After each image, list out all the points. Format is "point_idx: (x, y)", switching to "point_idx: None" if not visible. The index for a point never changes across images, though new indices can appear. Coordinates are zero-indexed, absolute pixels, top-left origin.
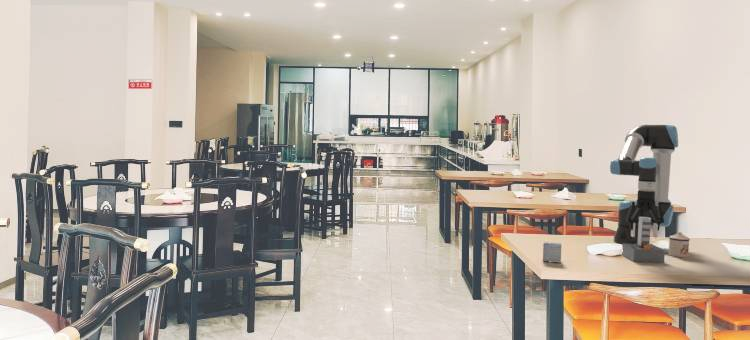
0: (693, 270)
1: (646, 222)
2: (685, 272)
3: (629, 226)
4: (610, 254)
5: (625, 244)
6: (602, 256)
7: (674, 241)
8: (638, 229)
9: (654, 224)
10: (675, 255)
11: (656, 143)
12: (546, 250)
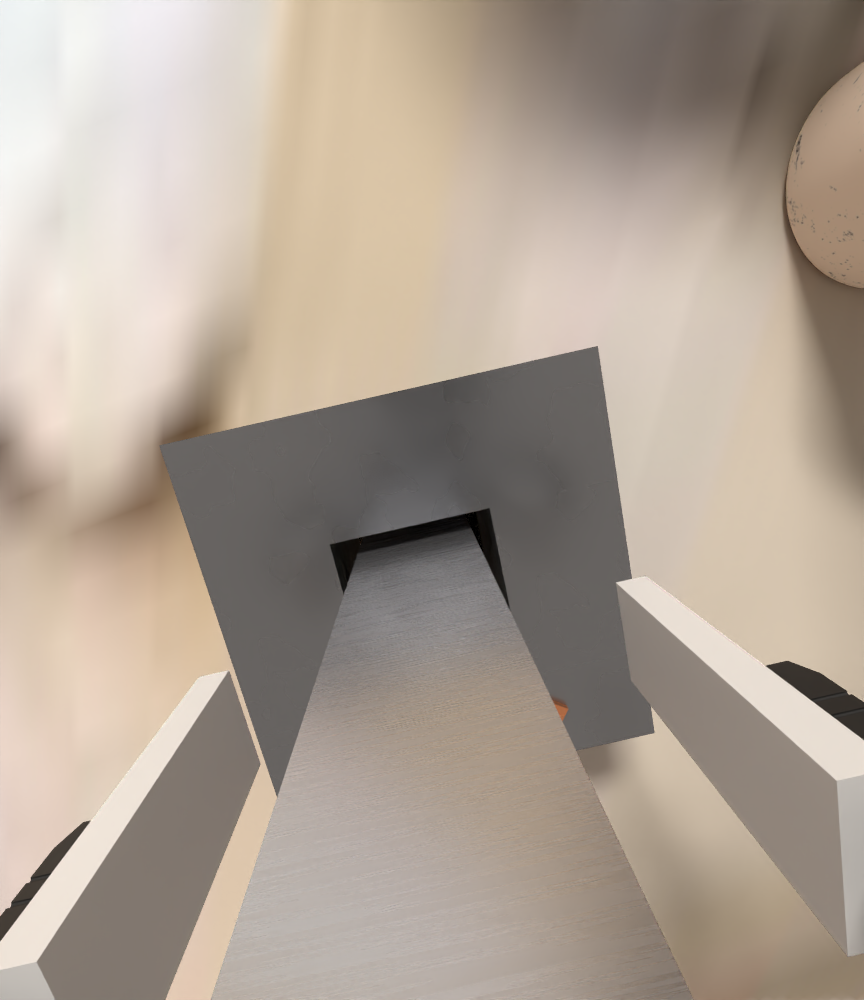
0: (755, 846)
1: None
2: (664, 932)
3: (18, 901)
4: (100, 421)
5: (195, 530)
6: (17, 569)
7: None
8: (314, 715)
9: (811, 816)
10: (831, 274)
11: None
12: None
